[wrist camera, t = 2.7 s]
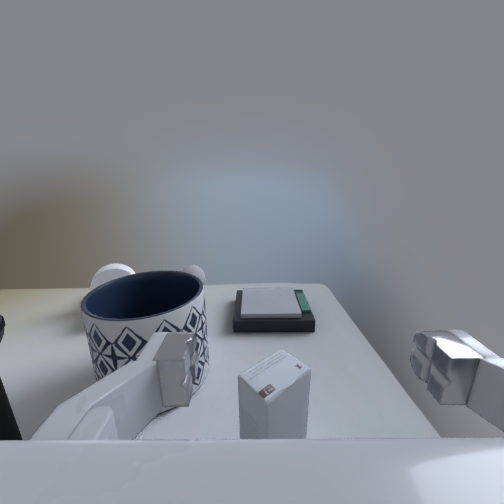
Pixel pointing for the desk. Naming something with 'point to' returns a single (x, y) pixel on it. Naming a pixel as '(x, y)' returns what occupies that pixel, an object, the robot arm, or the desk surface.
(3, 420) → the microphone
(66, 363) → the desk surface
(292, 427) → the cosmetic box
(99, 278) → the white u-slot block
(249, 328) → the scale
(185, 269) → the light bulb
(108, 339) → the planter
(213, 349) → the desk surface
